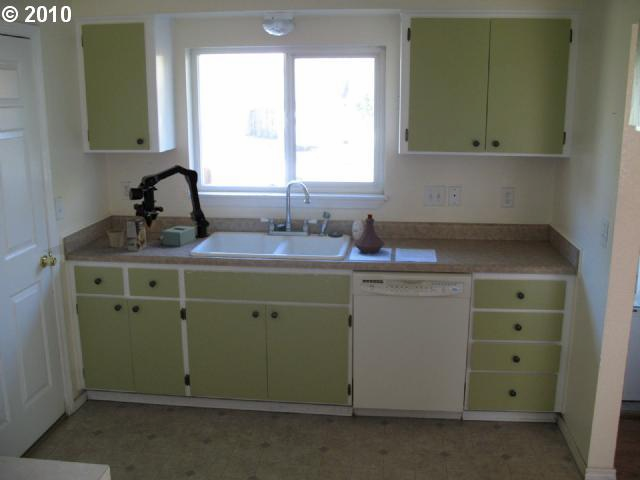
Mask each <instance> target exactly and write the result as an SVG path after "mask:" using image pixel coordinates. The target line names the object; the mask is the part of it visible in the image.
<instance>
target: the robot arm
mask: <svg viewBox="0 0 640 480" xmlns="http://www.w3.org/2000/svg"><path fill="white" fill-rule="evenodd" d="M177 174H179V175H182V176H183V177H184V179H185V181H186V184H187V186H188V189H189V193H190V195H189V196H190V200H191V206H192V210H191V212H189V215H190V220H192V222H193V223H194V224H195V226H196V234H195V238H206V237H210V236H209V235H210V234H208V227H209V226H210V222H209V221H208V220H207V219H206V216H205V213H204V212H203V210H202V208H201V202H200V197H199V191H198V180H199V179H198V178H199V175H198V172H197V171H196V170H194V169H189V168H185V167H183V166H181V165H180V164H179V165H178V164H176V165H173V166H171V167H169V168H167V169H164V170H162V171H160V172H157V173H154V174H149V175H144V176H142V178H141V182H140V183H139V185H138V187H130V188H129V191H128V197H129V201H139V200H142V199H143V200H142V201H141V203H140V204H139V203H135V204H133V210H135V217H141V218H142V219H145V221H146V223H147V226H148V227H150V225H151V220H152V219H154V220H155V221H156V220H157V217H158V215H160V213H163V212H164V207H163V206H158V205H155V203H157V200H155V191H158V188H156V185H158V183H159V182H161V181H163V180H164V179H167V178H170V177H171V176H174V175H177ZM159 212H160V213H159Z"/></svg>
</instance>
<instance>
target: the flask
mask: <svg viewBox="0 0 640 480" xmlns="http://www.w3.org/2000/svg"><path fill="white" fill-rule="evenodd" d="M364 221H365V223H366V224H365V228H364V232H363V234H361V236H360V237H359V238H358V239H357V240H356V241H355V242H354V243H353V245H354V246H355V248H357V249H358V251H361V252H360V253H362V252H363V254H367V253H373V254H377V253H378V252H380V250H381V249H382V248H383V247H384V246H385V242H384V241H383V240H382V239H381V238H380V237H379V236H378V235H377V233H376V231H375V230H376V229H375V226H374V222H375V219H374V218H373V214H370V213H369V214H367V218H366V219H365V220H364Z"/></svg>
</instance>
